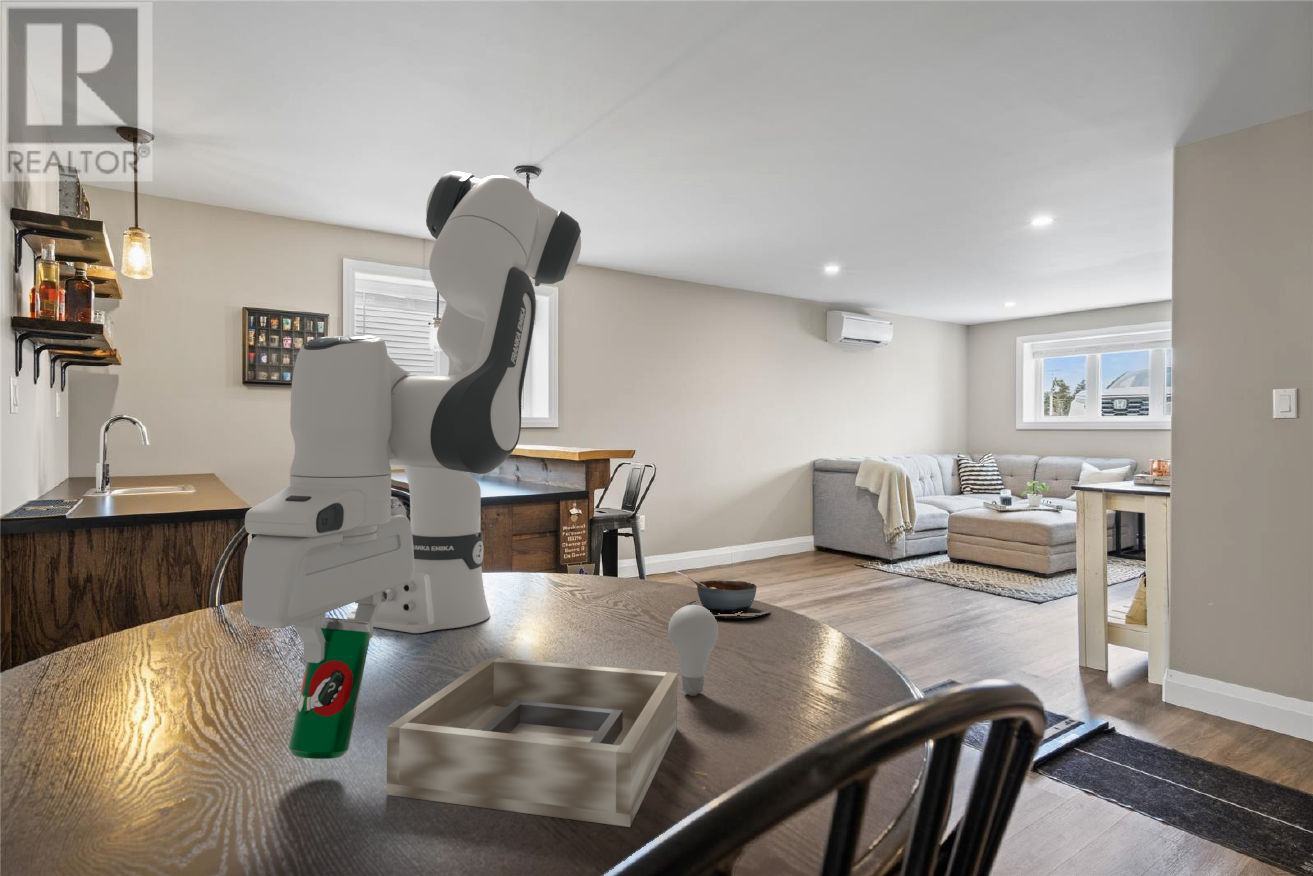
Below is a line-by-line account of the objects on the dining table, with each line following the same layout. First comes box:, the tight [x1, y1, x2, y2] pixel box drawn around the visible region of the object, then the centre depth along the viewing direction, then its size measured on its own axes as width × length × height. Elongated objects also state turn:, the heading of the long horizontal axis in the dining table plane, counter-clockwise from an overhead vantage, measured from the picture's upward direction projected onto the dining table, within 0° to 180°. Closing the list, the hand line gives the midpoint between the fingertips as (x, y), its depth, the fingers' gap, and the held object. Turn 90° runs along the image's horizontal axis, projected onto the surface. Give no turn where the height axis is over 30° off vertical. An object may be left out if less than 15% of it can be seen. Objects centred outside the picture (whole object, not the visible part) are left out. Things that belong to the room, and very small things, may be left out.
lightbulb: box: [667, 604, 720, 697], centre depth 88 cm, size 6×6×11 cm
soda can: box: [287, 616, 371, 760], centre depth 67 cm, size 5×5×12 cm
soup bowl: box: [674, 571, 769, 620], centre depth 128 cm, size 15×16×7 cm
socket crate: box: [386, 657, 679, 828], centre depth 71 cm, size 22×20×6 cm
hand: (340, 650), depth 69 cm, fingers closed on soda can, 5 cm apart
